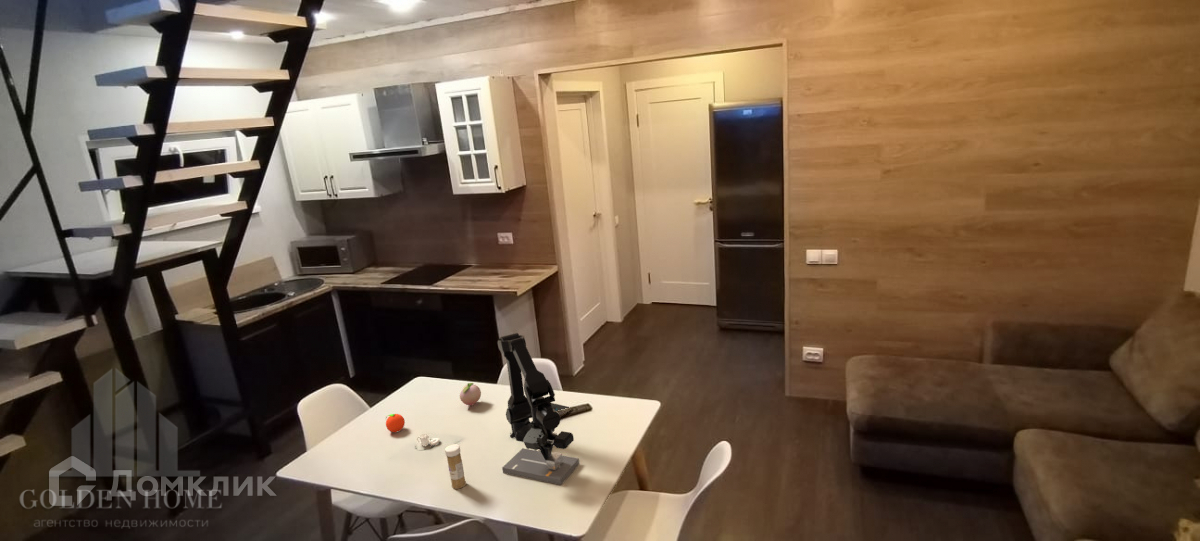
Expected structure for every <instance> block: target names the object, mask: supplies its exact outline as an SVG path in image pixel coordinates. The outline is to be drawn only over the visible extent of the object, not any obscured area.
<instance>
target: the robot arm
mask: <svg viewBox="0 0 1200 541" xmlns="http://www.w3.org/2000/svg"><path fill="white" fill-rule="evenodd" d="M526 342H527V341H526V339H525V335H523V334H520V333H519V332H514V333H511V334H507V335H502V336H500V337H499V338H498V340H497V346H498V350H499V351H500V353H501V355H503V356H504V358H505V360H506V368H507V374H508V381H509V387H510V388H509V389H510V396H509V399H508V400H507V408H506V411H505V416H506V420H507V421H508V423H509V424H510V426H511V434H510V435H509V436H510V437H509V438H513V439H515V441H517V442H522V443H523V444H524V447H525V449H530V450H535V451H540V452H541V453H542V455H543V457H544V459H545V460H547V459H548V458H549V457H550V456H551V454H552V453H553V449H554V447H555V448H556V449H561V450H565V449H567V448H568V447H569V446H570V445H571V444H572V443H573V442H574V441H575V439H574V434H573V433H572V432H568V431H563V430H562V431H559V433H556V432H555V430H556V428H557V427H559V425H560V423H561V419H562V418H560V416H559V414H558V413H557V412H556V411H555V410H554V409H553V408H552V406H551V403H554V402H555V401H556V398H555V396H556V393H555V390H554V388H553V386H552V384H551V382H550V380H548V379H547V378H546V376H545V375H544V373H543V372H541V371H539V370H538V369H537V367H536V365H535V363H534V361H533V358H532V357H531V354H530V352H529V349H528V348H527V343H526ZM523 377H524V380H523ZM523 381H524V383H523ZM548 395H549V396H548ZM530 419H532V421H531V420H530Z"/></svg>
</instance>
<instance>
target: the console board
mask: <svg viewBox="0 0 1200 541" xmlns="http://www.w3.org/2000/svg"><path fill="white" fill-rule="evenodd" d="M552 454H553V453H551V455H552ZM562 456H563V462H562V464H561V465H560V466H559V467H558V468H557V469H556V470H552V469H547V463H546V460H545V459H544V457H543V455H542V453H541V452H540V450H534V449H527V448H524V447H522V448H521V449H520V450H519V451H518V452H517V453H516V454H515V455H514V456H513V457H512V458H511V459H510V460H509V461H508V462H506V463H505V464H504V465H503V466H502V467H501V469H502V473H503V474H507V475H510V476H517V477H521V478H525V479H530V480H534V481H539V482H544V483H549V484H553V485H559V486H563V484H564V482H565V481H566V480H567V479H568V478H569V477H570V475H572V473H573V472H574V471H575V470H576V469H577V467H579V465H580V460H579V458H577V457H572V456H568V455H562Z"/></svg>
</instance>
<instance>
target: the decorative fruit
mask: <svg viewBox="0 0 1200 541" xmlns="http://www.w3.org/2000/svg"><path fill="white" fill-rule="evenodd" d="M481 395H482V392H481V388H480V387H479V386H478V385H476V384H474V383H473V382H468V383H467V384H465V385H464V386H463V387H462V389H461V391H460V393H459V399H460V401H461V403H463V404H464V405H466V406H473V405H475V404H476V403H478V401H479V400H480V399H481Z"/></svg>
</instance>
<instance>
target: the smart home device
mask: <svg viewBox="0 0 1200 541" xmlns="http://www.w3.org/2000/svg"><path fill="white" fill-rule="evenodd" d="M551 406H552V408H553V409H554V410H555V411H558V410H561V409H565V408H569V407H570V406H567V405H562V404H558V403H554V402H551Z"/></svg>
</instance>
